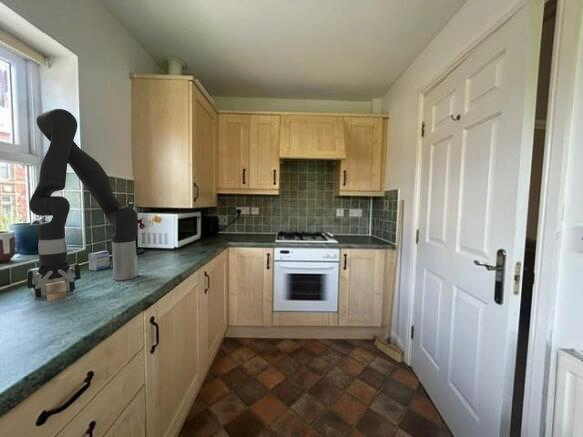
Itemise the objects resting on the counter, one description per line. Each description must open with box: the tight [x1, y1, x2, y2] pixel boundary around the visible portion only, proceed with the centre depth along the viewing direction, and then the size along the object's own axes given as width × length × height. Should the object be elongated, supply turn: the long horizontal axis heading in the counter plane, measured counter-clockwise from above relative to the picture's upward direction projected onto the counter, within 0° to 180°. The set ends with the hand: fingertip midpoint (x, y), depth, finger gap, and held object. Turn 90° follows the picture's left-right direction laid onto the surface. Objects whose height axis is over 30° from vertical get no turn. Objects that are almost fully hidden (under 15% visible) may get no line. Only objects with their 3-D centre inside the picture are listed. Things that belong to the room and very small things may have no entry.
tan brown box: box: [46, 281, 67, 303], centre depth 94 cm, size 5×3×6 cm, turn 139°
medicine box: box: [87, 250, 110, 271], centre depth 133 cm, size 8×4×9 cm, turn 168°
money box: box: [29, 267, 73, 299], centre depth 102 cm, size 11×11×9 cm
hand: (56, 294), depth 94 cm, fingers open, 8 cm apart
